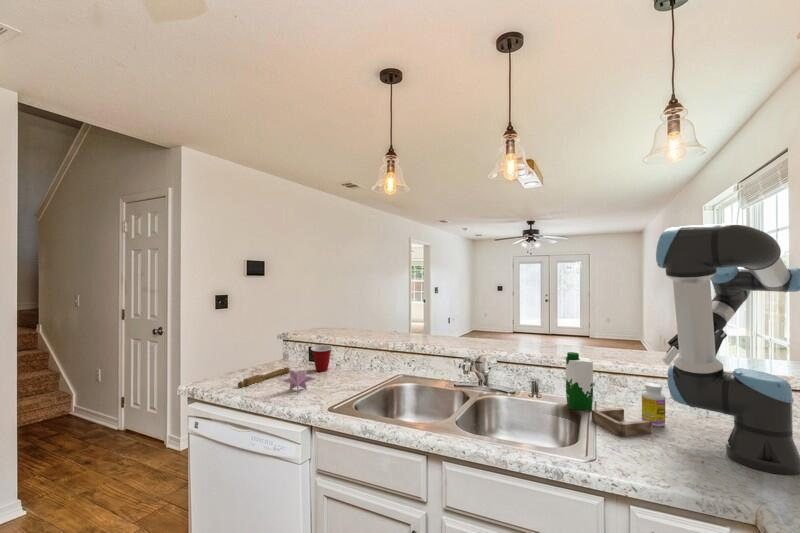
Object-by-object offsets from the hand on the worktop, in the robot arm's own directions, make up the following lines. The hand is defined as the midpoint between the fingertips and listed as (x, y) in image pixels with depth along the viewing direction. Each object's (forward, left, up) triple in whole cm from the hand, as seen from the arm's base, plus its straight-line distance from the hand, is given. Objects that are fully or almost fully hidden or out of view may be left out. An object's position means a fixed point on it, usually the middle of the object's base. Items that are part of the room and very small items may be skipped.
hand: (677, 365), depth 135 cm
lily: (+61, +127, -19) cm, 142 cm away
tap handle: (+83, +143, -19) cm, 166 cm away
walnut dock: (0, +23, -19) cm, 29 cm away
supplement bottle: (0, +10, -19) cm, 21 cm away
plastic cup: (+94, +117, -19) cm, 151 cm away
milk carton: (+19, +24, -19) cm, 36 cm away
